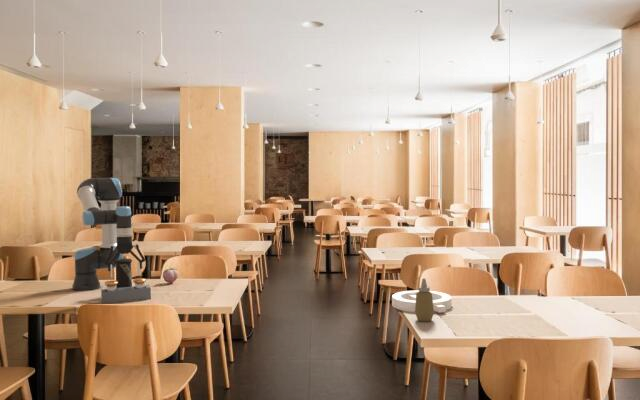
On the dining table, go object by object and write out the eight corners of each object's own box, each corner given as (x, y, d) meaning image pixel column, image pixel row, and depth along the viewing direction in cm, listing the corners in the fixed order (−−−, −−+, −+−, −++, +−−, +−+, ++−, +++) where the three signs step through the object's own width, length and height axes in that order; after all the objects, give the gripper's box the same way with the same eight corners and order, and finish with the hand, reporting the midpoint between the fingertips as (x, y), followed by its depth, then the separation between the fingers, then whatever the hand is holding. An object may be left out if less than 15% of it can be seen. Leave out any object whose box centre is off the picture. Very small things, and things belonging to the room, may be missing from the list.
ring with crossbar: (444, 315, 241) (444, 305, 241) (384, 310, 253) (384, 300, 253) (456, 302, 266) (456, 292, 266) (401, 298, 278) (401, 288, 278)
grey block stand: (101, 303, 275) (101, 292, 275) (101, 300, 283) (101, 289, 283) (150, 299, 285) (150, 287, 285) (149, 296, 292) (148, 285, 292)
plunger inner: (105, 297, 277) (104, 283, 277) (105, 295, 283) (104, 281, 282) (118, 296, 279) (118, 282, 279) (118, 293, 285) (117, 280, 285)
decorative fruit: (172, 281, 334) (171, 265, 334) (180, 282, 329) (180, 266, 329) (159, 284, 327) (159, 267, 326) (168, 285, 322) (167, 268, 321)
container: (127, 296, 292) (126, 259, 291) (112, 296, 294) (111, 259, 293) (136, 293, 300) (134, 257, 299) (121, 293, 302) (120, 257, 301)
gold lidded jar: (134, 294, 282) (133, 280, 282) (133, 292, 288) (132, 279, 288) (147, 293, 285) (146, 279, 285) (145, 291, 291) (145, 277, 290)
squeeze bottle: (419, 317, 238) (419, 276, 237) (437, 319, 233) (436, 278, 232) (411, 321, 231) (411, 279, 230) (429, 323, 226) (429, 281, 226)
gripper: (98, 238, 274) (100, 279, 275) (149, 235, 284) (151, 275, 285) (98, 236, 281) (99, 277, 282) (148, 234, 291) (149, 273, 292)
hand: (125, 276), depth 283 cm, fingers open, 13 cm apart
